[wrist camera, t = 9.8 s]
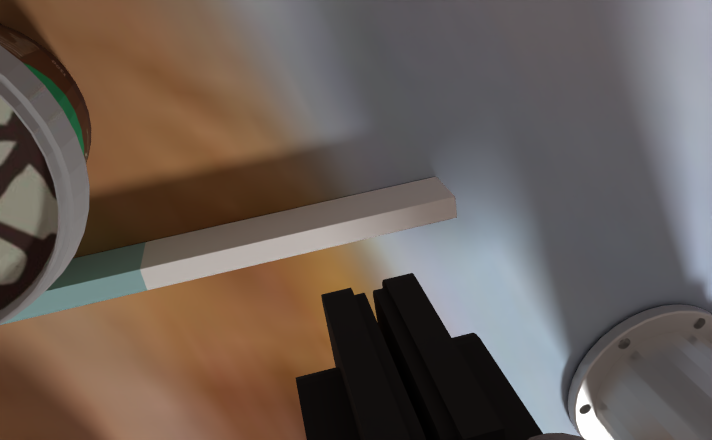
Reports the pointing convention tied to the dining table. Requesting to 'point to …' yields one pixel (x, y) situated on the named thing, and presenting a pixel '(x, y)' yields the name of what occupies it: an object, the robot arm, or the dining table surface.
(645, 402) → the robot arm
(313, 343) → the dining table surface
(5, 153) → the food container
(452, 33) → the dining table surface
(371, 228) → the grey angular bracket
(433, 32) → the dining table surface
